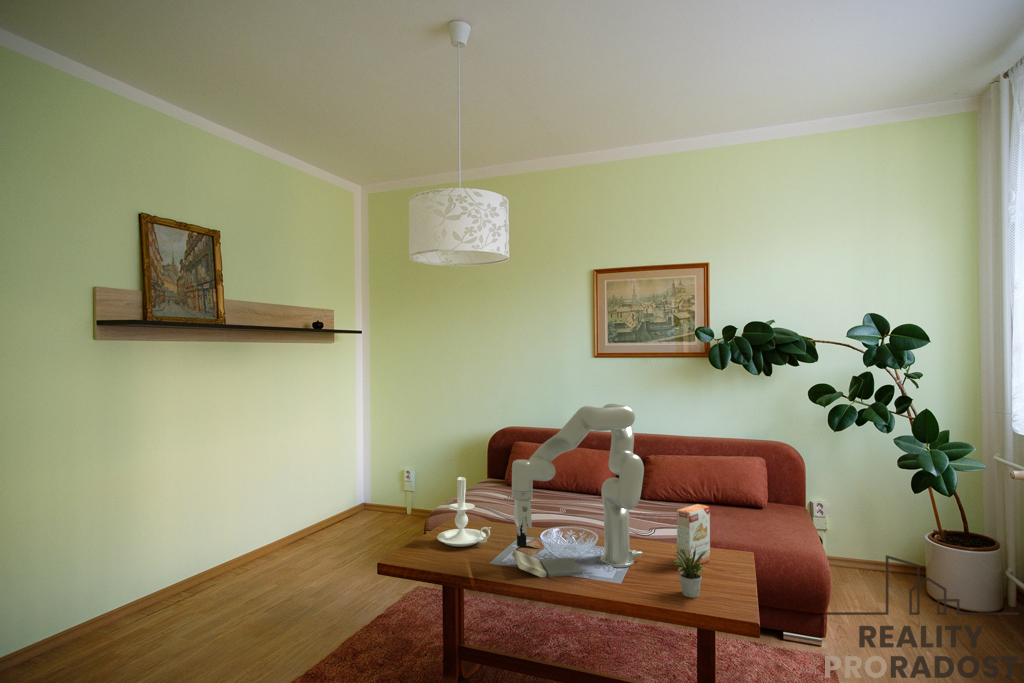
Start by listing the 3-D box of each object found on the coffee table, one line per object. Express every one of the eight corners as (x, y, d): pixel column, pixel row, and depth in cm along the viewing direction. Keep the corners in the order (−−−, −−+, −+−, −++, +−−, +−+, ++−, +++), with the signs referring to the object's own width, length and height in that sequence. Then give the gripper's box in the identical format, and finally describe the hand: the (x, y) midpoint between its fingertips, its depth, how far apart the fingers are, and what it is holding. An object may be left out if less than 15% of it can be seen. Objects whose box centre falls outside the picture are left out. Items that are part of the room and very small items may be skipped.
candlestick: (477, 556, 220) (477, 485, 221) (427, 546, 231) (426, 479, 232) (503, 541, 238) (502, 475, 239) (455, 533, 250) (454, 470, 250)
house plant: (658, 596, 181) (657, 545, 182) (671, 582, 193) (670, 534, 193) (702, 607, 173) (701, 553, 174) (714, 591, 185) (713, 541, 185)
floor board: (571, 563, 211) (571, 557, 212) (582, 577, 198) (582, 571, 198) (540, 565, 209) (540, 559, 209) (548, 579, 196) (548, 573, 196)
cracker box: (690, 570, 204) (689, 512, 204) (676, 565, 208) (675, 509, 209) (711, 561, 212) (710, 506, 213) (697, 557, 217) (696, 503, 218)
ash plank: (538, 565, 209) (540, 560, 209) (547, 579, 195) (549, 574, 196) (512, 554, 208) (514, 549, 208) (519, 568, 194) (521, 562, 194)
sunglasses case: (532, 560, 214) (524, 544, 216) (518, 567, 217) (511, 551, 219) (552, 547, 230) (545, 531, 232) (539, 553, 233) (532, 538, 235)
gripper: (536, 499, 195) (536, 552, 195) (528, 489, 210) (527, 538, 209) (515, 499, 194) (514, 553, 193) (508, 490, 209) (507, 539, 208)
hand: (521, 545), depth 201 cm, fingers closed
